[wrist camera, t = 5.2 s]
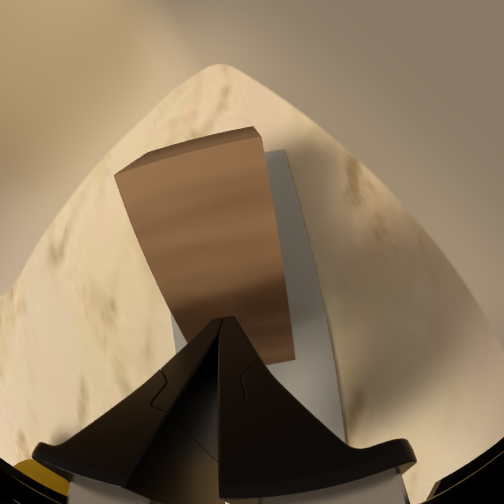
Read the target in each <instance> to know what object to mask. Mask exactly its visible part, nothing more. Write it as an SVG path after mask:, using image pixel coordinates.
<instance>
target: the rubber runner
mask: <svg viewBox="0 0 504 504" xmlns="http://www.w3.org/2000/svg"><path fill="white" fill-rule="evenodd" d="M264 154H265V160H266V165H267V171H268V176H269V182H270V188H271V194H272V200H273V206H274V212H275V218H276V224H277V230H278V236H279V243H280V249H281V256H282V262H283V269H284V276H285V283H286V290H287V297H288V304H289V311H290V318H291V326H292V334H293V342H294V349H295V358H296V360H293V361H287V362H282V363H276V364H270V365H266V366H267V368H268V369H269V371H270V372H271V373H272V374H273V376H274V377H275V378H276V379H277V380H278V381H279V382H280V383H281V384H282V385H283V386H284V387H285V388H286V389H287V390H288V391H289V392H290V393H291V394H292V395H293V396H294V397H295V398H296V399H297V400H298V401H299V402H300V403H301V404H302V405H304V406H305V407H306V408H307V409H308V410H309V411H310V412H311V413H312V414H313V415H314V416H315V417H316V418H317V419H319V420H320V421H321V422H322V423H323V424H324V425H325V426H326V427H327V428H329V429H330V430H331V431H332V432H333V433H334V434H335V435H336V436H338V437H339V438H340V439H341V440H342V441H343V442H345V434H344V426H343V418H342V410H341V403H340V396H339V389H338V382H337V376H336V370H335V363H334V358H333V352H332V346H331V341H330V335H329V330H328V325H327V319H326V314H325V309H324V304H323V300H322V295H321V290H320V286H319V281H318V276H317V272H316V268H315V263H314V259H313V255H312V250H311V246H310V242H309V238H308V234H307V230H306V226H305V222H304V218H303V215H302V211H301V207H300V203H299V200H298V196H297V192H296V189H295V185H294V182H293V178H292V175H291V171H290V168H289V164H288V161H287V158H286V154H285V151H284V150H279V151H273V152H267V153H264ZM171 319H172V327H173V334H174V341H175V348H176V354H177V353H178V352H179V351H180V350H181V349H182V348H183V347H184V346H185V345H186V344H187V342H186V340H185V338H184V336H183V334H182V332H181V331H180V329H179V327H178V325H177V323H176V321H175V319H174V317H173V315H172V313H171Z"/></svg>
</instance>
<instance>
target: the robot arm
mask: <svg viewBox="0 0 504 504" xmlns="http://www.w3.org/2000/svg"><path fill="white" fill-rule="evenodd" d="M32 458H33V459H34V460H35V461H37V462H38V463H39V464H41V465H42V466H44V467H46V468H47V469H49V470H51V471H52V472H54V473H56V474H57V475H59V476H61V477H63V478H64V479H66V480H68V481H70V487H69V491H68V496H65V495H63V494H61V493H58V492H56V491H54V490H52V489H50V488H48V487H46V486H44V485H42V484H41V483H39V482H37V481H35V480H34V479H32V478H30V477H28V476H27V475H25V474H24V473H22V472H20V471H19V470H17V469H16V468H14V467H13V466H11V465H10V464H8V463H7V462H5V461H4V460H3V459H1V458H0V504H225V502H227V503H230V504H410V502H409V498H408V495H407V491H406V488H405V485H404V481H403V478H402V474H403V473H405V472H406V471H407V470H408V469H410V468H411V467H412V466H413V465H414V464H415V463H416V462H417V459H416V456H415V454H414V451H413V449H412V447H411V445H410V443H409V442H408V440H406V439H403V438H401V439H394V440H390V441H387V442H383V443H380V444H377V445H375V446H372V447H368V448H363V449H357V448H353V447H350V446H349V445H347V444H346V443H345V442H343V441H342V440H341V439H340V438H339V437H338V436H336V435H335V434H334V433H333V432H332V431H331V430H330V429H329V428H327V427H326V426H325V425H324V424H323V423H322V422H321V421H320V420H319V419H317V418H316V417H315V416H314V415H313V414H312V413H311V412H310V411H309V410H308V409H307V408H306V407H305V406H304V405H302V404H301V403H300V402H299V401H298V400H297V399H296V398H295V397H294V396H293V395H292V394H291V393H290V392H289V391H288V390H287V389H286V388H285V387H284V386H283V385H282V384H281V383H280V382H279V381H278V380H277V379H276V378H275V377H274V376H273V374H272V373H271V372H270V371H269V369H268V368H267V366H266V365H265V364H264V362H263V360H262V359H261V358H260V356H259V355H258V353H257V351H256V350H255V348H254V347H253V345H252V343H251V342H250V340H249V339H248V337H247V335H246V334H245V332H244V330H243V329H242V327H241V326H240V324H239V322H238V321H237V319H236V317H235V316H227V317H224V318H223V317H221V318H214V319H212V320H211V321H210V322H209V323H208V324H207V325H206V326H205V327H204V328H203V329H202V330H201V331H200V332H199V333H198V334H197V335H196V336H195V337H194V338H193V339H192V340H191V341H189V342H188V343H187V344H186V345H185V346H184V347H183V348H182V349H181V350H180V351H179V352H178V353H177V354H176V355H175V356H174V357H173V358H172V359H171V360H170V361H168V362H167V363H166V364H165V365H164V366H163V367H162V368H161V370H158V371H157V372H156V373H155V374H154V375H153V376H152V377H151V378H150V379H149V380H147V381H146V382H145V383H144V384H143V385H142V386H140V387H139V388H138V389H137V390H135V391H134V392H133V393H131V394H130V395H129V396H127V397H126V398H125V399H123V400H122V401H121V402H119V403H118V404H117V405H115V406H114V407H113V408H111V409H110V410H109V411H107V412H106V413H105V414H103V415H102V416H101V417H99V418H98V419H96V420H95V421H94V422H92V423H91V424H90V425H88V426H87V427H85V428H84V429H83V430H81V431H80V432H78V433H77V434H76V435H74V436H73V437H71V438H70V439H68V440H67V441H66V442H64V443H62V444H60V445H56V446H53V445H49V444H47V443H43V442H39V443H38V445H37V446H36V447H35V449H34V451H33V453H32ZM420 504H504V437H503V438H502V439H501V440H500V441H499V442H497V443H496V444H495V445H494V446H492V447H491V448H490V449H488V450H487V451H486V452H484V453H483V454H481V455H480V456H478V457H477V458H475V459H474V460H472V461H471V462H469V463H468V464H466V465H465V466H463V467H462V468H460V469H458V470H457V471H455V472H453V473H452V474H450V475H448V476H446V477H444V478H443V479H441V480H439V481H437V482H436V483H435V485H434V486H433V488H432V490H431V492H430V494H429V496H428V498H427V499H426V501H424V502H422V503H420Z"/></svg>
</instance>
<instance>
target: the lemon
mask: <svg viewBox="0 0 504 504" xmlns="http://www.w3.org/2000/svg"><path fill="white" fill-rule="evenodd" d="M13 467H14V468H16V469H17V470H19V471H20V472H22V473H24V474H25V475H27V476H28V477H30V478H32V479H34V480H35V481H37V482H39V483H41V484H42V485H44V486H46V487H48V488H50V489H52V490H54V491H56V492H58V493H61V494H63V495H65V496H68V491H69V487H70V485H69V483H68V480H66V479H64V478H63V477H61V476H59V475H57V474H56V473H54V472H52V471H51V470H49V469H47V468H46V467H44V466H42V465H41V464H39V463H38V462H37V461H35V460H34V459H29V460H25V461H22V462H20V463H18V464H16V465H15V466H13Z"/></svg>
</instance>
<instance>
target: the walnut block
mask: <svg viewBox="0 0 504 504" xmlns="http://www.w3.org/2000/svg"><path fill="white" fill-rule="evenodd" d="M114 177H115V180H116V183H117V186H118V189H119V192H120V195H121V198H122V200H123V203H124V206H125V208H126V211H127V214H128V216H129V219H130V222H131V224H132V227H133V229H134V232H135V234H136V237H137V239H138V242H139V244H140V246H141V249H142V251H143V253H144V256H145V258H146V260H147V263H148V265H149V267H150V269H151V272H152V274H153V276H154V278H155V280H156V282H157V285H158V287H159V289H160V291H161V293H162V295H163V297H164V299H165V301H166V303H167V305H168V307H169V309H170V311H171V313H172V315H173V317H174V319H175V321H176V323H177V325H178V327H179V329H180V331H181V332H182V334H183V336H184V338H185V340H186V342H187V343H188V342H189V341H191V340H192V339H193V338H194V337H195V336H196V335H197V334H198V333H199V332H200V331H201V330H202V329H203V328H204V327H205V326H206V325H207V324H208V323H209V322H210V321H211V320H212V319H214V318H221V317H223V318H224V317H227V316H235V317H236V319H237V321H238V322H239V324H240V326H241V327H242V329H243V330H244V332H245V334H246V335H247V337H248V339H249V340H250V342H251V343H252V345H253V347H254V348H255V350H256V351H257V353H258V355H259V356H260V358H261V359H262V360H263V362H264V364H265V365H270V364H276V363H282V362H287V361H293V360H296V358H295V349H294V342H293V334H292V326H291V318H290V311H289V304H288V297H287V290H286V283H285V276H284V269H283V262H282V256H281V249H280V243H279V236H278V230H277V224H276V218H275V212H274V206H273V200H272V194H271V188H270V182H269V176H268V171H267V165H266V160H265V154H264V149H263V143H262V138H261V136H260V134H259V133H258V132H257V131H256V129H255V128H254V127H253V126H252V127H246V128H241V129H236V130H231V131H227V132H222V133H217V134H213V135H209V136H205V137H201V138H197V139H193V140H189V141H185V142H181V143H178V144H174V145H171V146H167V147H164V148H160V149H157V150H154V151H151V152H148V153H146V154H144V155H143V156H141V157H140V158H138V159H137V160H135V161H134V162H132V163H131V164H129V165H128V166H126V167H125V168H124V169H122V170H121V171H119V172H118V173H116V174H115V175H114Z"/></svg>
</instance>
